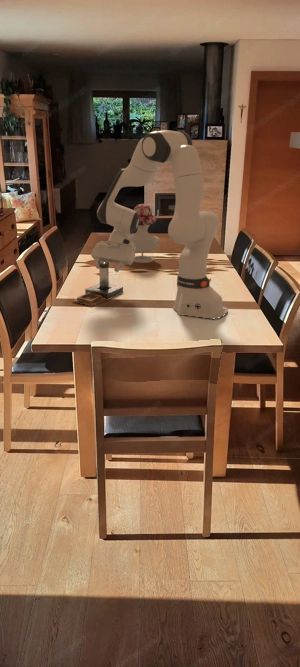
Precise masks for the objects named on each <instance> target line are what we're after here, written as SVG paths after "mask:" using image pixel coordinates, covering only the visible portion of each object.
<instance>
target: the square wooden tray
mask: <svg viewBox="0 0 300 667" xmlns="http://www.w3.org/2000/svg"><path fill="white" fill-rule="evenodd" d="M102 301H103V302H105V301H107V299H106V298H102V296H100V295H96V294H91V293H86V294H85V293H84V294H82V295H80V296H78V297H77V298H75V299H74V300H72V303H74V304H78V303H81V304H80V305H82V304H85V305H84V306H87V305H88V306H87V307H91V306H93V307H94V305H95V304H97V303H99V304H101V303H103V302H102ZM100 302H101V303H100ZM97 305H98V304H97ZM95 306H96V305H95Z"/></svg>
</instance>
